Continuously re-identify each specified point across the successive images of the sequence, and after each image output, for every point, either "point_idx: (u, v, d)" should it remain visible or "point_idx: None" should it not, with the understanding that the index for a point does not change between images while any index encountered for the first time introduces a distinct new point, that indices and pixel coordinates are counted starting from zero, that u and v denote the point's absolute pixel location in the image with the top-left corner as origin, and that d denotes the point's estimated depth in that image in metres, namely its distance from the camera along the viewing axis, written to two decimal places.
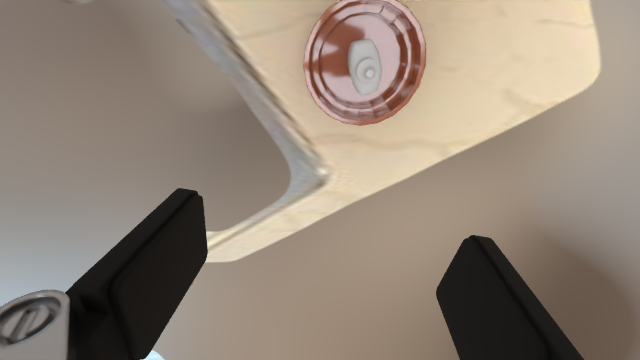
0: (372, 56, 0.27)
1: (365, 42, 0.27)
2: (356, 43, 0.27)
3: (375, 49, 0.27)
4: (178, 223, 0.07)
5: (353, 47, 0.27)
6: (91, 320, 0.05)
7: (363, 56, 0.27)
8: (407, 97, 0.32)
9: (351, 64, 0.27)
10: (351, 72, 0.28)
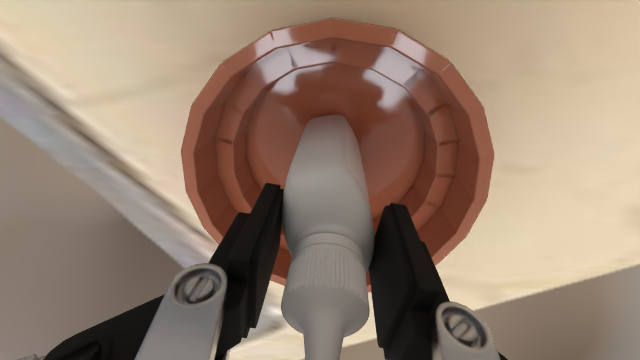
0: (344, 223, 0.08)
1: (321, 179, 0.08)
2: (295, 178, 0.09)
3: (354, 199, 0.08)
4: (276, 212, 0.08)
5: (287, 188, 0.09)
6: (236, 289, 0.06)
7: (315, 223, 0.08)
8: (436, 255, 0.14)
9: (284, 231, 0.09)
10: (287, 246, 0.10)
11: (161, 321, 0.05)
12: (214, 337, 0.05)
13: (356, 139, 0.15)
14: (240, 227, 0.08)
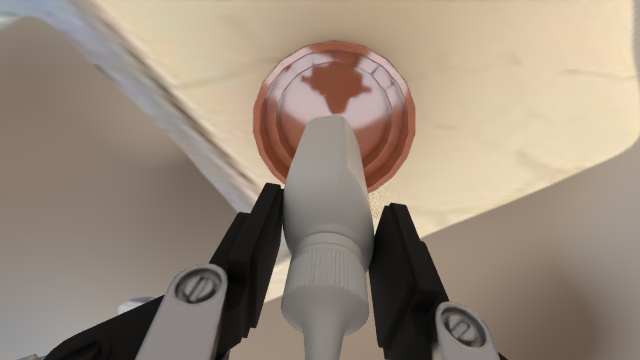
0: (344, 223, 0.08)
1: (321, 180, 0.08)
2: (295, 178, 0.09)
3: (354, 199, 0.09)
4: (277, 212, 0.08)
5: (287, 187, 0.09)
6: (236, 289, 0.06)
7: (315, 223, 0.08)
8: (392, 170, 0.24)
9: (284, 231, 0.09)
10: (287, 246, 0.10)
11: (162, 321, 0.05)
12: (214, 337, 0.05)
13: (356, 139, 0.15)
14: (240, 227, 0.08)
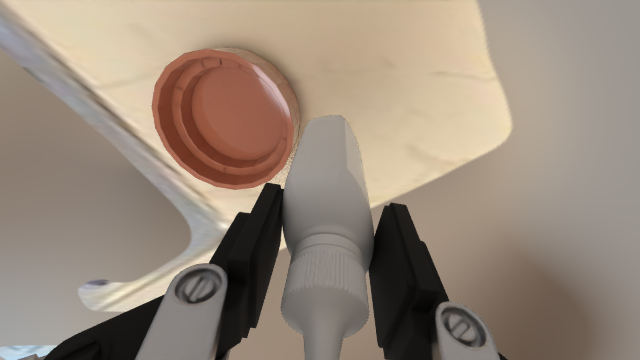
0: (344, 224, 0.08)
1: (321, 180, 0.08)
2: (295, 179, 0.09)
3: (353, 200, 0.09)
4: (277, 212, 0.08)
5: (287, 188, 0.09)
6: (236, 289, 0.06)
7: (315, 224, 0.08)
8: (281, 161, 0.27)
9: (284, 232, 0.09)
10: (287, 247, 0.10)
11: (161, 321, 0.05)
12: (215, 337, 0.05)
13: (356, 140, 0.15)
14: (240, 227, 0.08)
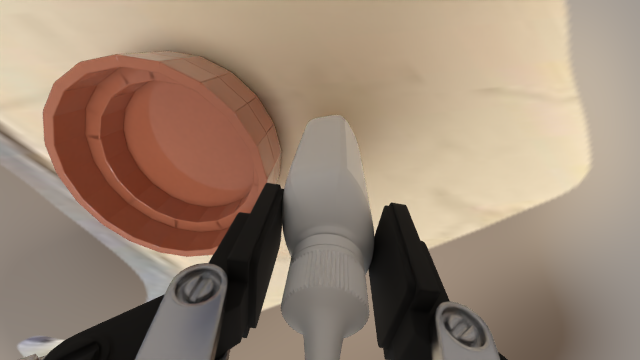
0: (344, 224, 0.08)
1: (321, 180, 0.08)
2: (295, 179, 0.09)
3: (354, 200, 0.09)
4: (277, 212, 0.08)
5: (287, 189, 0.09)
6: (236, 289, 0.06)
7: (315, 224, 0.08)
8: None
9: (284, 232, 0.09)
10: (287, 247, 0.10)
11: (161, 321, 0.05)
12: (214, 337, 0.05)
13: (356, 140, 0.15)
14: (240, 227, 0.08)
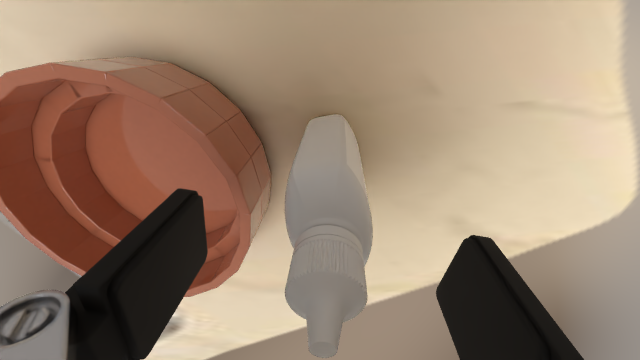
0: (344, 216, 0.09)
1: (322, 175, 0.09)
2: (297, 174, 0.09)
3: (353, 194, 0.09)
4: (178, 223, 0.07)
5: (290, 183, 0.09)
6: (91, 320, 0.05)
7: (317, 216, 0.09)
8: (233, 263, 0.15)
9: (287, 224, 0.10)
10: (290, 239, 0.10)
11: None
12: (66, 359, 0.04)
13: (355, 138, 0.15)
14: None
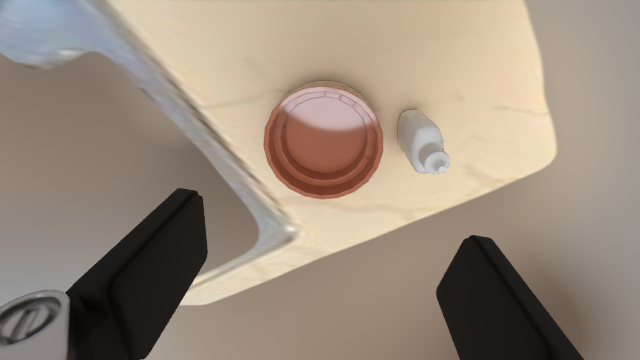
0: (437, 143, 0.26)
1: (431, 128, 0.26)
2: (421, 128, 0.26)
3: (440, 135, 0.26)
4: (178, 223, 0.07)
5: (417, 131, 0.27)
6: (91, 320, 0.05)
7: (428, 142, 0.26)
8: (366, 177, 0.32)
9: (414, 147, 0.27)
10: (412, 154, 0.27)
11: None
12: (66, 359, 0.04)
13: None
14: None
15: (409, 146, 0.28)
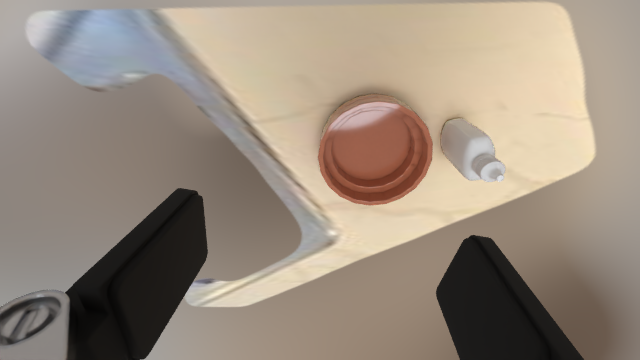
0: (490, 152, 0.28)
1: (483, 138, 0.28)
2: (473, 138, 0.28)
3: (492, 145, 0.28)
4: (178, 223, 0.07)
5: (470, 142, 0.28)
6: (91, 320, 0.05)
7: (481, 152, 0.28)
8: (414, 184, 0.34)
9: (466, 156, 0.29)
10: (464, 163, 0.29)
11: None
12: (66, 359, 0.04)
13: None
14: None
15: (460, 155, 0.30)
